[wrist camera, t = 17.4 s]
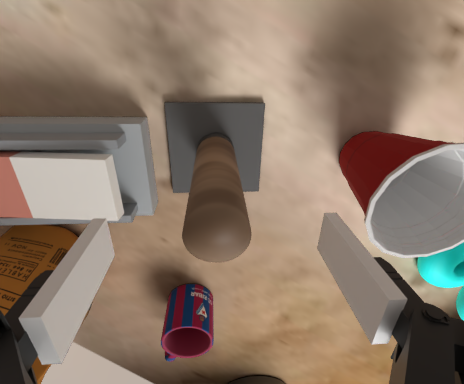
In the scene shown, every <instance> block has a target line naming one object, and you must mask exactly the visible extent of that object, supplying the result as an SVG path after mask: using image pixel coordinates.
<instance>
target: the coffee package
mask: <svg viewBox="0 0 464 384" xmlns="http://www.w3.org/2000/svg"><path fill="white" fill-rule="evenodd" d="M77 239H78V237H77V236H76V235H75V234H74V233H72V232H71V231H69V230H68V229H65V228H63V227H59V226H54V225H49V224H43V225H14V226H13V227H12V228H11V229H9V230H8V231H7V232H6V233H5V234H3V235H2V236H1V237H0V310H1V312H2V313H3V314H4V316H5V315H6V313H7V312H8V311H9V310H10V308H11V307H12V306H13V305H14V303H15V302H16V301H17V300H18V298H19V297H21V295H22V293H23V292H24V291H25V290H26V289H27V287H28V286H29V285H30V284H31V282H32V281H33V280H34V279H35V278H36V277H37V276H39V275H40V274H41V273H43V272H44V271H45V270H55V269H56V267H57V266H58V265H59V263H60V262H61V261H62V259H63V258H64V257H65V255H66V254H67V253H68V251H69V250H70V249H71V247H72V246H73V244H74V243H75V242H76V240H77ZM96 294H97V293H96ZM95 296H96V295H95ZM94 298H95V297H94ZM93 300H94V299H93ZM92 302H93V301H92ZM91 305H92V303H91ZM91 305H90V307H89V309H88V311H87V313H86V315H85V317H84V319H85V318H86V316H87V315H88V313H89V310H90V308H91ZM84 319H83V321H84ZM83 321H82V323H83ZM82 323H81V324H82ZM50 366H51V364H45V365H42V364H41V362H40V360H39V358H38V356H37V358H36V359H35V361H34V363H33V365H32V368H33V370H34V372H35V376H36V379H37V383H38V384H41V382H42V380H43V377H44V375H45V373H46V371H47V370H48V368H49V367H50Z"/></svg>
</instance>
